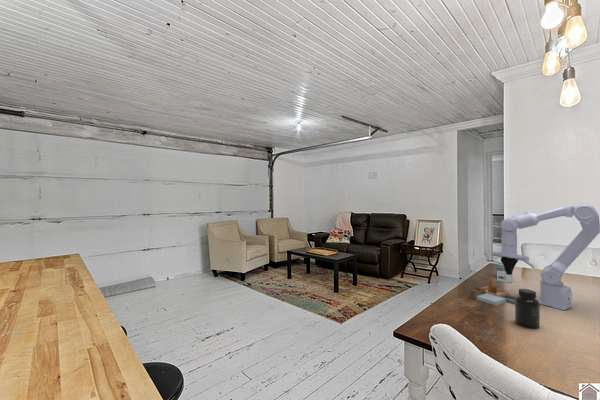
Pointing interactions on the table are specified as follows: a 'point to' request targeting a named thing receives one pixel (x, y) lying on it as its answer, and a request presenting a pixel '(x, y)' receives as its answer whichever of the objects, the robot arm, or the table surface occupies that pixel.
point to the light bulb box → (502, 273)
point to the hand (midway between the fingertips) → (509, 274)
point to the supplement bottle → (527, 309)
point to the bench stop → (477, 292)
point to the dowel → (492, 285)
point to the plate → (491, 299)
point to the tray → (499, 292)
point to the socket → (509, 299)
